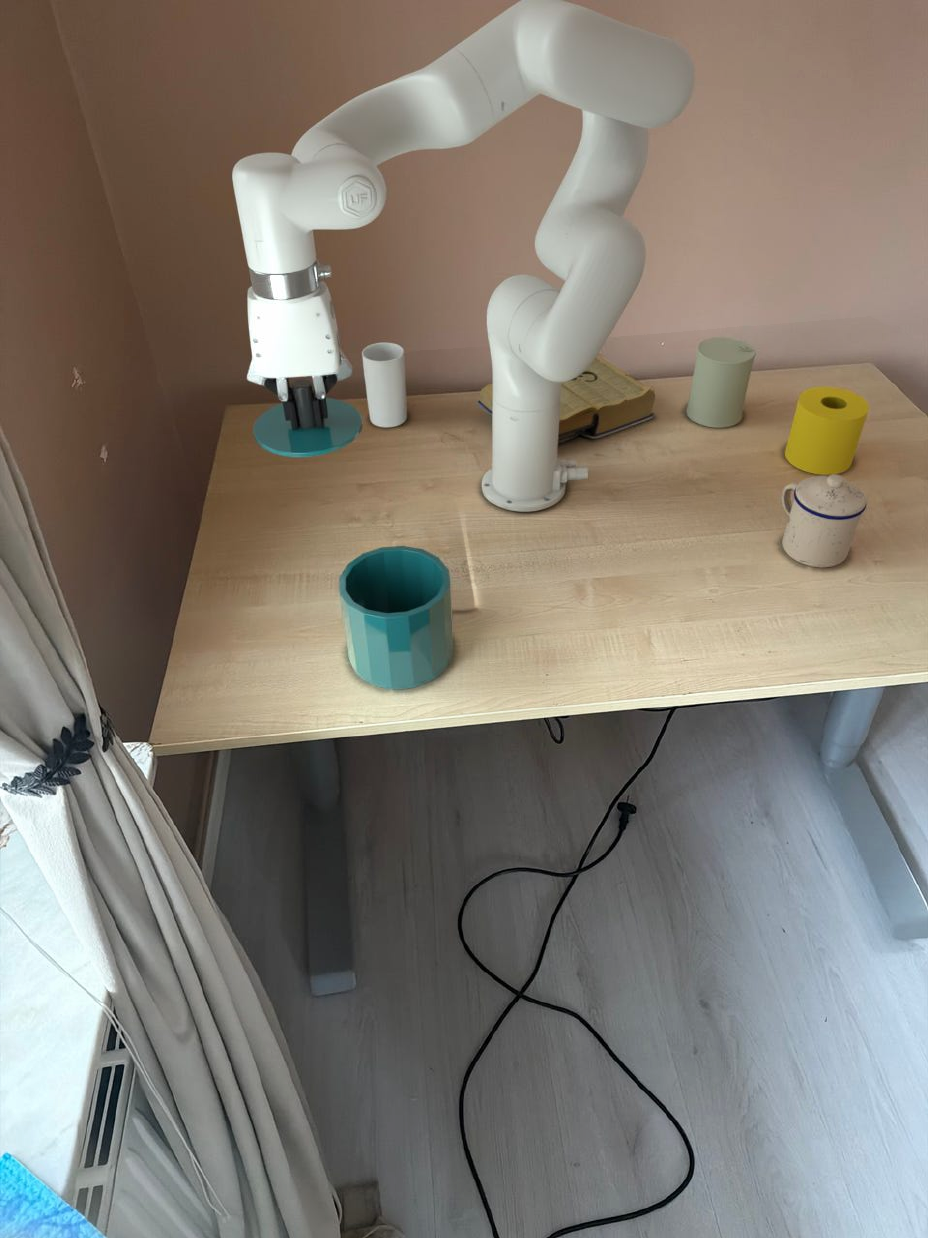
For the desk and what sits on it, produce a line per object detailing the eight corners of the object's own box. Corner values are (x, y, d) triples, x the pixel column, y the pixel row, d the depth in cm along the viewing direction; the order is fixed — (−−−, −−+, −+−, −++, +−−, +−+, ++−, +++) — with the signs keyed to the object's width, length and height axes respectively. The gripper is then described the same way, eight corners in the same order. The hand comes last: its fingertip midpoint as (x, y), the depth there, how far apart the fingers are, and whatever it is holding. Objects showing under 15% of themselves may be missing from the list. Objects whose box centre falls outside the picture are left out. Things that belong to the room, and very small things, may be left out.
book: (595, 378, 160) (598, 347, 156) (655, 418, 150) (659, 386, 146) (476, 416, 151) (475, 384, 147) (530, 462, 141) (531, 428, 137)
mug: (413, 423, 150) (409, 356, 142) (375, 432, 148) (368, 364, 140) (395, 396, 157) (390, 331, 149) (358, 404, 155) (351, 338, 147)
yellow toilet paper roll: (814, 480, 135) (830, 425, 129) (771, 449, 142) (784, 395, 136) (865, 465, 138) (883, 410, 132) (821, 434, 145) (836, 381, 139)
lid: (363, 402, 119) (358, 354, 114) (362, 458, 109) (357, 408, 104) (260, 408, 118) (250, 360, 113) (249, 464, 108) (239, 415, 103)
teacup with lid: (863, 557, 122) (889, 485, 114) (812, 577, 119) (835, 505, 111) (800, 511, 130) (820, 441, 122) (751, 530, 127) (769, 459, 119)
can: (747, 427, 147) (762, 359, 139) (691, 428, 147) (703, 360, 139) (735, 399, 154) (749, 333, 146) (682, 400, 154) (692, 334, 146)
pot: (447, 613, 115) (445, 542, 107) (456, 685, 106) (454, 612, 98) (349, 621, 114) (339, 550, 106) (349, 693, 105) (338, 621, 97)
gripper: (357, 261, 103) (372, 405, 116) (216, 268, 102) (246, 412, 115) (356, 287, 98) (372, 435, 110) (207, 295, 97) (240, 443, 109)
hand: (307, 422), depth 112 cm, fingers closed on lid, 2 cm apart
